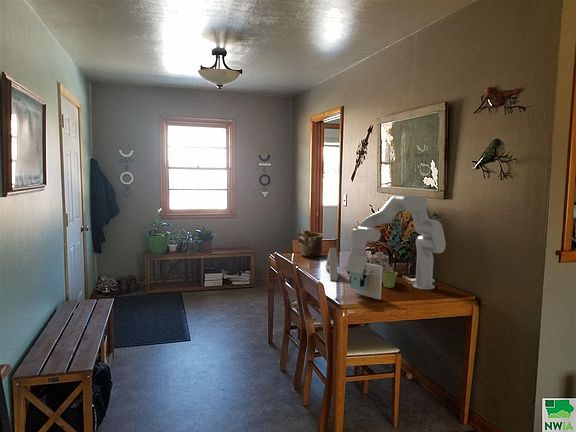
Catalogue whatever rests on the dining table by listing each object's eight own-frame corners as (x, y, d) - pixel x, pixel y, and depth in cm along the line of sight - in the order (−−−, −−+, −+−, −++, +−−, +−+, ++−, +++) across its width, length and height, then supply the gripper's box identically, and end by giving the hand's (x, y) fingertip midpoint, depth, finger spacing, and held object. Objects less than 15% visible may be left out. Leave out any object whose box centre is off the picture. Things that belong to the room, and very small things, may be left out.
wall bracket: (332, 296, 299) (337, 279, 273) (326, 296, 299) (330, 279, 273) (331, 266, 310) (336, 247, 284) (325, 266, 310) (329, 247, 284)
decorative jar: (388, 279, 282) (389, 251, 280) (387, 283, 271) (388, 254, 269) (369, 277, 285) (370, 250, 284) (367, 281, 274) (368, 253, 273)
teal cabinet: (362, 284, 242) (362, 268, 241) (371, 286, 238) (371, 270, 237) (349, 288, 235) (350, 271, 234) (358, 290, 230) (359, 273, 229)
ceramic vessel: (337, 247, 349) (319, 223, 342) (314, 267, 345) (296, 243, 339) (327, 242, 370) (310, 219, 364) (305, 261, 367) (287, 238, 360)
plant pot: (378, 284, 268) (379, 270, 267) (394, 284, 268) (394, 270, 268) (383, 288, 258) (383, 274, 258) (398, 288, 259) (399, 274, 258)
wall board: (356, 292, 248) (358, 261, 246) (380, 299, 237) (382, 266, 235) (351, 294, 244) (352, 262, 242) (375, 300, 233) (376, 267, 231)
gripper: (341, 250, 235) (339, 283, 237) (367, 254, 223) (366, 289, 225) (349, 248, 241) (348, 280, 242) (376, 253, 228) (374, 287, 230)
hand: (356, 284), depth 234 cm, fingers closed on teal cabinet, 6 cm apart
